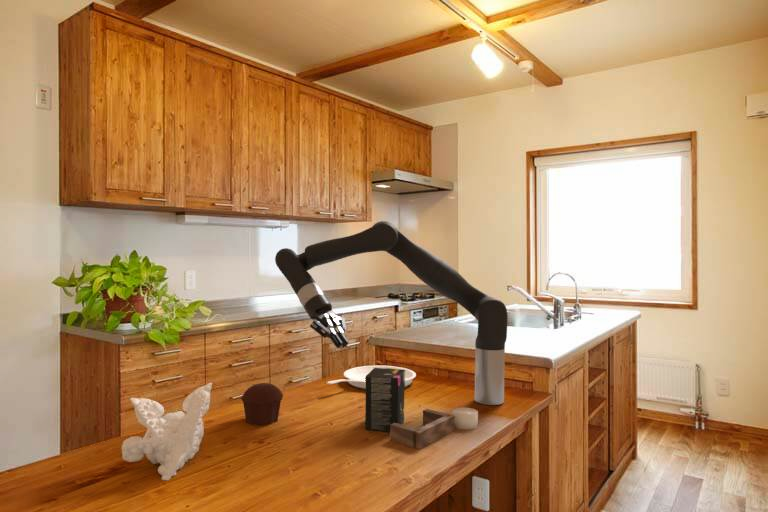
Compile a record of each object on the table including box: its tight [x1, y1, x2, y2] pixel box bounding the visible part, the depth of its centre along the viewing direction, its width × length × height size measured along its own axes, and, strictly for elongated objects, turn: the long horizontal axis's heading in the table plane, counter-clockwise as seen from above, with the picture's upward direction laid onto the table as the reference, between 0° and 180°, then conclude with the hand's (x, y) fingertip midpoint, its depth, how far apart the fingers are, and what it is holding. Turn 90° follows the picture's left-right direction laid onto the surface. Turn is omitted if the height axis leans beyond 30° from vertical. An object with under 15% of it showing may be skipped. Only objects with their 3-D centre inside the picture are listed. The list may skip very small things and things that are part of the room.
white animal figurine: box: [121, 382, 213, 481], centre depth 117 cm, size 19×20×20 cm
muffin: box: [240, 382, 284, 426], centre depth 146 cm, size 12×11×10 cm
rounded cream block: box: [451, 406, 479, 431], centre depth 144 cm, size 7×7×4 cm
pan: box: [326, 365, 417, 390], centre depth 184 cm, size 26×39×5 cm
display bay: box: [389, 408, 456, 450], centre depth 135 cm, size 17×9×4 cm, turn 142°
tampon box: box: [364, 368, 406, 433], centre depth 143 cm, size 11×9×15 cm
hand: (343, 345), depth 153 cm, fingers closed
